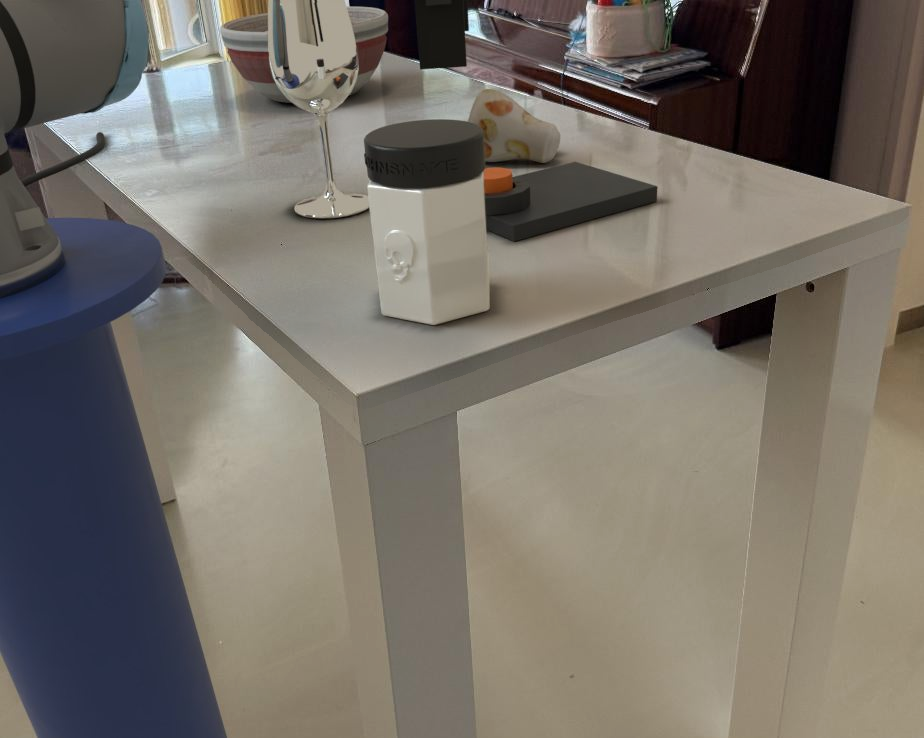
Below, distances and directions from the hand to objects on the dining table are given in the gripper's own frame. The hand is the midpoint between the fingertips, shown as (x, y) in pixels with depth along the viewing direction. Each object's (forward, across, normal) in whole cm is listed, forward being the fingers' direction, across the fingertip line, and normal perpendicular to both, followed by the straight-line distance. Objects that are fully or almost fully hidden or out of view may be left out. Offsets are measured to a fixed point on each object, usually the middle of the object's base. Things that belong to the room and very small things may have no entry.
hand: (446, 48), depth 62 cm
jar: (+17, 0, +2) cm, 17 cm away
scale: (+17, +22, -7) cm, 29 cm away
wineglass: (+17, +25, +13) cm, 33 cm away
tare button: (+14, +19, -2) cm, 24 cm away
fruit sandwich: (+17, +38, -5) cm, 42 cm away
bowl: (+17, +79, +22) cm, 84 cm away
